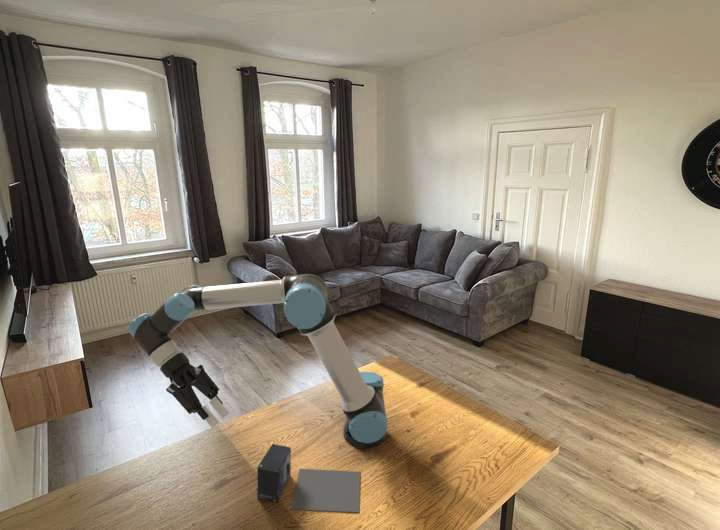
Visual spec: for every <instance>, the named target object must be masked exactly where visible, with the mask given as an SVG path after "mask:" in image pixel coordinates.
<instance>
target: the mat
mask: <svg viewBox="0 0 720 530" xmlns="http://www.w3.org/2000/svg"><path fill="white" fill-rule="evenodd" d="M360 485H361V471H350V470H348V471H347V470H334V469H333V470H331V469H314V468H313V469H310V468H308V469H307V468H299V470H298V475H297V479H296V483H295V487H294V491H293V495H292V500H291V503H290V508H289V510H291V511H292V510H293V511H294V510H295V511H311V512H312V511H313V512H328V513H329V512H330V513H348V514H359V513H360V494H361V493H360V488H361V486H360Z"/></svg>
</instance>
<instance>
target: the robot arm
mask: <svg viewBox="0 0 720 530" xmlns="http://www.w3.org/2000/svg"><path fill="white" fill-rule="evenodd" d="M328 295H329V291H328V287H327V284H326V282H325V281H324V280H323V279H322V278H321V277H319V276H318V275H316V274H311V273H302V274H294V275H285V276H284V277H283V278H282V279H277V280H276V279H274V280H263V281H255V282H244V283H231V284H223V285H220V284H219V285H211V286H201V285H199V284H192V285H190V286H188V287H185V288H184V289H183V290H182V291H180V292H176V293H174V294H173V295H172V296H170V297H169V298H167V299H166V300H165V302H163V304H162V305H161V306H159V307H158V308H157V310H155V311H154V312H153V314H152V313H150V312H145V313H142V314H140V315H138V316H137V317H136V318H134V319H132V320H131V321H130V323H129V324H128V325H127V331H128V332H129V334H130V335H131V337H132V338H133V340H134V341H135V342H136V343H137V344H138V345H139V346H140V347H141V348H142V349H143V350H144V352H145V353H146V354H147V356H148V357H149V358H150V360H151V361H152V362H153V363H154V364H155V366H156V368H157V367H158V368H159V371H160V372H161V373H162V374H163V376H165V378H167V379H169V381H170V384H169V385H168V386H167V388H165V389H166V390H165V391H166V392H167V393H169V394H170V395H172V396H173V397H174V398H175V400H176V401H177V402H178V403H179V404H180V405H181V407H182V408H183V409H184V410H185V411H186V412H187V413H188V414H189V415H191V414H192V413H193V414H197V415H199V417H200V418H201V419H202V420H203V421H205V422H207V424H208V425H209V426H210V427H211V429H214V428H215V427H216V426H217V425H219V423H220V421H219V420H218V419H217V418H216V416H215V415H214V414H213V413H212V412H211V411H210V410H209V408H208V407H207V406H206V405H202V403H201V401H200V399H199V398H198V396H197V393H196V392H195V391H194V389H193V387H195V389H197V390H198V391H199V392H200V393H202V394H203V396H205V397H206V398H207V399H209V402H208V403H209V404H210V405H211V406H212V408H213V409H214V410H215V412H216V413H217V414H218V415H219V416H220V418H221V419H224V418H226V417H227V416H228V415H229V414H230V411H229V410H228V409H227V408H226V406H225V405H223V404H224V403H223V401H222V400H221V399H220V398H219V396H218V394H219V391H220V388H219V387H218V386H217V384H216V383H215V382H214V380H213V379H212V378H211V377H210V375H208V372H206V371H205V368H204V365H203V364H199V365H198V366H194V365H192V364H190V363H191V362H190V359H189V358H188V357H187V356H186V354H185V353H184V352H181V351H182V350H181V348H180V347H179V345H178V344H176V342H175V341H174V340H173V339H172V337H171V336H170V334H171V333H172V332H173V331H174V330H175V329H176V328H178V327H179V326H180V325H181V324H182V323H183V322H184V321H185V320H187V319H188V318H189V317H190V316H191V315H192V314H194V313H195V312H198V311H199V312H200V311H208V310H218V309H219V310H220V309H221V310H222V309H230V308H241V307H243V308H244V307H250V306H251V307H252V306H263V305H265V306H266V305H274V304H275V305H276V304H283V313H284V316H285V318H286V320H287V321H288V322H289V323H290V324H291V325H292V326H294V327H295V328H296V329H297V330H298V331H299V333H300V335H302V336H306V337H308V339H309V341H310V343H311V345H312V347H313V349H314V350H315V352H316V353H317V356H318V357H319V359H320V361H321V363H322V365H323V366H324V369H325V370H326V372H327V374H328V376H329V377H330V379H331V381H332V383H333V385H334V387H335V389H336V390H337V392H338V394H339V396H340V398H341V402H340V408H341V410H342V412H343V414H344V415H345V418H346V420H345V422H344V425H343V431H342V436H343V439H344V440H345V442H346V443H348V444H349V445H351V446H352V447H355V448H358V449H373V448H376V447H378V446H380V445H382V444H383V442H384V441H385V440H386V433H387V430H388V423H389V422H388V418H387V412H386V406H385V399H384V386H385V385H384V384H385V383H384V378H383V376H382V375H380V374H379V373H376V372H371V371H360V370H359V368H358V366H357V365H356V363H355V361H354V359H353V357H352V355H351V353H350V351H349V348H348V347H347V345H346V343H345V341H344V340H343V338H342V336H341V334H340V332H339V330H338V328H337V327H336V324H335V319H336V313H335V311H334V309H333V307H332V305H331V303H330V302H329V299H328Z"/></svg>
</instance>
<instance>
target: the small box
mask: <svg viewBox="0 0 720 530" xmlns="http://www.w3.org/2000/svg"><path fill="white" fill-rule="evenodd" d="M291 457H292V447H290V446H284V445H279V444H274V443H272V444H271V445H270V447H269V449H268V450H267V451H266V454H265V455H264V456H263V458H262V459H261V461H260V463H259V464H258V466H257V467H256V468H257V474H256V475H257V477H256V479H257V493H256V494H257V495H256V498H257V499H258V500H264V501H267V502H270V503H278V502H279V499H280V497H281V496H282V494H283V492H284V490H285V488H286V486H287V484H288V482H289V481H290V478H291V473H292V472H291V469H292V468H291V466H292V464H291Z"/></svg>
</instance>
